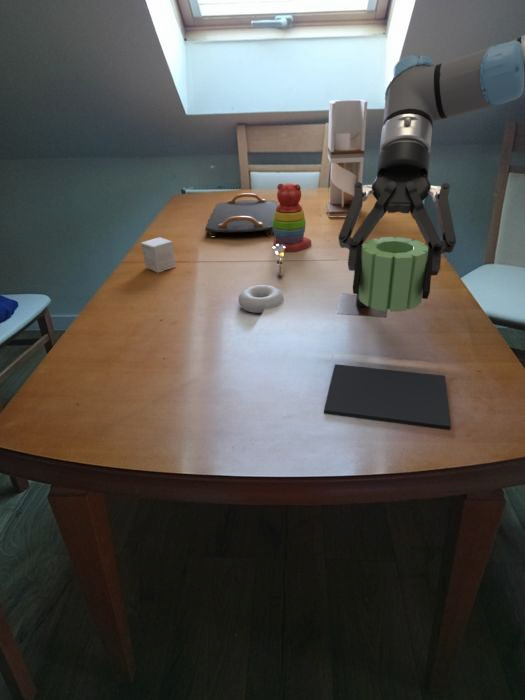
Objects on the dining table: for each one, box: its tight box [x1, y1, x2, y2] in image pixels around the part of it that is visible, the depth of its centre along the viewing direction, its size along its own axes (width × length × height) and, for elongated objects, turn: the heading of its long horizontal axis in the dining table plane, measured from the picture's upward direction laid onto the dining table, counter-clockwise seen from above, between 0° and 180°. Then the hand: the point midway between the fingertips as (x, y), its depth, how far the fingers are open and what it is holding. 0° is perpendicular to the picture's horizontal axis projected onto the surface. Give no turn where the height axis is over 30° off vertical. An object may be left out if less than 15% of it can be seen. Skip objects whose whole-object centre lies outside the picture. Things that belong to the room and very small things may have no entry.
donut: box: [238, 284, 284, 314], centre depth 102 cm, size 10×4×10 cm
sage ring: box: [359, 236, 428, 313], centre depth 68 cm, size 9×9×8 cm
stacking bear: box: [272, 183, 312, 253], centre depth 132 cm, size 11×10×18 cm
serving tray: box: [204, 192, 279, 237], centre depth 159 cm, size 39×23×6 cm, turn 178°
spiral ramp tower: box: [325, 99, 368, 217], centre depth 156 cm, size 11×11×35 cm
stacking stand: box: [336, 293, 388, 319], centre depth 96 cm, size 10×10×9 cm
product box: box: [140, 236, 177, 274], centre depth 124 cm, size 6×6×7 cm
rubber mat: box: [323, 363, 452, 430], centre depth 73 cm, size 18×13×1 cm
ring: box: [272, 243, 285, 276], centre depth 116 cm, size 7×3×8 cm, turn 175°
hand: (390, 292), depth 66 cm, fingers closed on sage ring, 9 cm apart
